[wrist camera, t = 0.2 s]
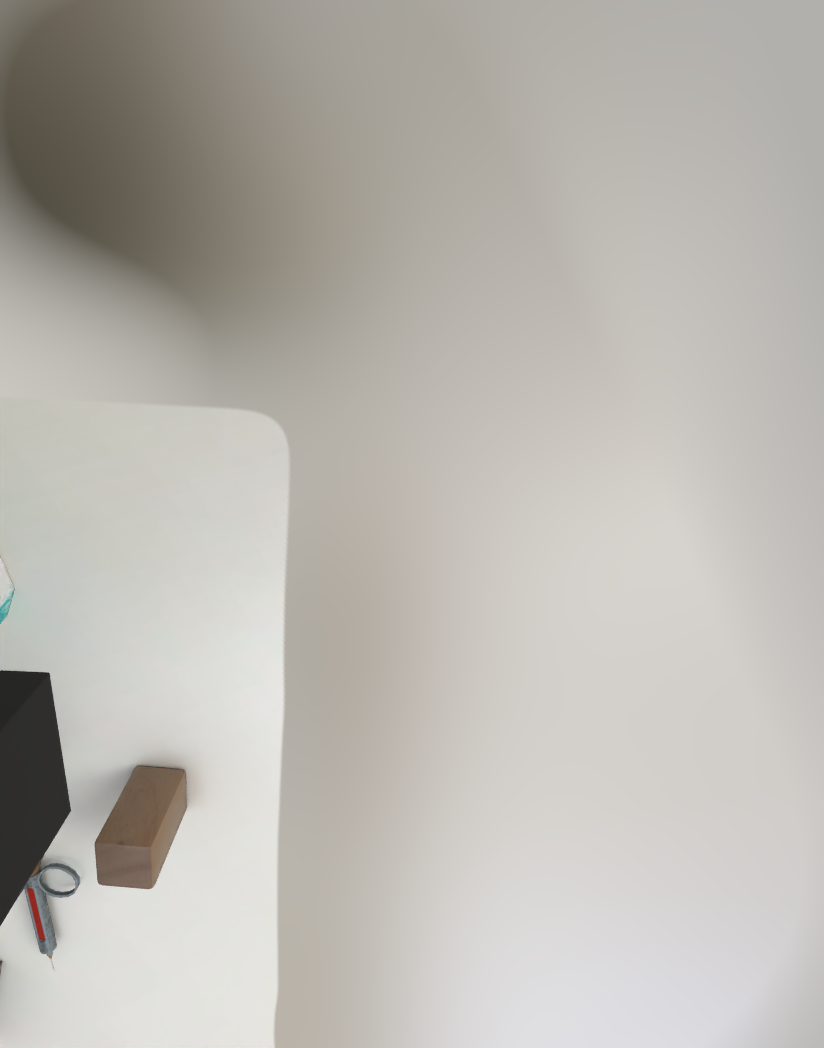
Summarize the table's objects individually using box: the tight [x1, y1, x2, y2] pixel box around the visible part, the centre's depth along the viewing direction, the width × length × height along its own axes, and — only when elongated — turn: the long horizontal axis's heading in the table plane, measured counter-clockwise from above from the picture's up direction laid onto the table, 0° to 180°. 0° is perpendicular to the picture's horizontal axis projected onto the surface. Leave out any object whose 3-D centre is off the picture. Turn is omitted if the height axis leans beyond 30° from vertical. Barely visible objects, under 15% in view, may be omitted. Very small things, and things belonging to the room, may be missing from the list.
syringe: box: [21, 862, 80, 970], centre depth 61 cm, size 8×18×2 cm, turn 0°
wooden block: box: [95, 766, 187, 889], centre depth 54 cm, size 4×4×8 cm
